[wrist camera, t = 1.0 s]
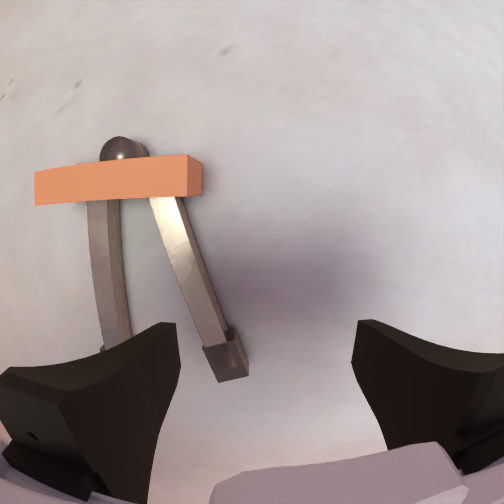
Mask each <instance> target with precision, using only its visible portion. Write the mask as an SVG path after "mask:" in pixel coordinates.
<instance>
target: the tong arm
mask: <svg viewBox="0 0 504 504" xmlns="http://www.w3.org/2000/svg"><path fill="white" fill-rule="evenodd" d="M149 200H150V203H151V206H152V209H153V212H154V215H155V218H156V221H157V224H158V227H159V230H160V233H161V236H162V239H163V242H164V245H165V248H166V250H167V253H168V256H169V259H170V261H171V264H172V267H173V270H174V272H175V275H176V278H177V280H178V283H179V285H180V288H181V291H182V293H183V296H184V298H185V301H186V303H187V306H188V308H189V311H190V313H191V315H192V318H193V320H194V323H195V325H196V327H197V330H198V332H199V334H200V337H201V339H202V341H203V347H202V349H203V351H204V353H205V355H206V357H207V360H208V362H209V364H210V366H211V368H212V370H213V373H214V375H215V377H216V379H217V381H218V383H219V382H224V381H229V380H233V379H237V378H242V377H246V376H249V362H248V360H247V357H246V355H245V352H244V350H243V347H242V344H241V342H240V339H239V337H238V334H237V331H236V329H231V330H228V328H227V325H226V322H225V320H224V317H223V315H222V312H221V309H220V307H219V304H218V301H217V299H216V296H215V293H214V291H213V288H212V285H211V282H210V280H209V277H208V274H207V271H206V269H205V266H204V263H203V260H202V257H201V254H200V252H199V249H198V246H197V243H196V240H195V237H194V234H193V231H192V228H191V225H190V222H189V219H188V216H187V213H186V210H185V207H184V204H183V201H182V198H181V197H149Z"/></svg>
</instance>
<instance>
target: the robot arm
mask: <svg viewBox="0 0 504 504" xmlns="http://www.w3.org/2000/svg"><path fill="white" fill-rule="evenodd" d="M351 364H352V367H353V371H354V374H355V377H356V379H357V382H358V384H359V386H360V388H361V390H362V392H363V394H364V396H365V398H366V400H367V401H368V403H369V405H370V407H371V409H372V411H373V413H374V415H375V417H376V419H377V421H378V423H379V425H380V428H381V430H382V433H383V436H384V439H385V442H386V445H387V449H388V451H384V452H380V453H376V454H371V455H367V456H362V457H357V458H351V459H346V460H339V461H333V462H326V463H318V464H309V465H299V466H286V467H272V468H266V469H260V470H253V471H246V472H242V473H240V474H238V475H235V476H233V477H231V478H229V479H227V480H225V481H222V482H220V483H218V484H216V485H215V487H214V489H213V492H212V494H211V496H210V501H209V504H504V353H500V354H496V353H478V352H470V351H463V350H457V349H453V348H449V347H445V346H441V345H437V344H434V343H431V342H428V341H425V340H423V339H420V338H417V337H415V336H412V335H410V334H408V333H405V332H403V331H401V330H398V329H396V328H394V327H391V326H389V325H387V324H384V323H382V322H379V321H376V320H373V319H369V320H358V324H357V331H356V337H355V343H354V349H353V355H352V361H351ZM180 368H181V363H180V355H179V348H178V340H177V331H176V323H168V322H160V323H157V324H155V325H153V326H151V327H150V328H148V329H146V330H144V331H143V332H141V333H139V334H137V335H135V336H134V337H132V338H130V339H128V340H126V341H124V342H122V343H120V344H118V345H116V346H114V347H112V348H110V349H108V350H105V351H103V352H100V353H98V354H95V355H92V356H89V357H86V358H82V359H78V360H74V361H70V362H66V363H61V364H55V365H47V366H37V367H9V368H8V369H7V370H5V371H4V372H3V373H2V374H1V375H0V420H1V422H2V424H3V425H4V427H5V429H6V430H7V432H8V434H9V435H10V437H11V438H12V439H13V440H12V441H11V442H10V443H9V442H8V441H7V440H6V439H0V504H147V498H148V490H149V483H150V476H151V470H152V464H153V459H154V454H155V449H156V445H157V440H158V436H159V432H160V429H161V426H162V423H163V421H164V418H165V415H166V413H167V410H168V408H169V405H170V403H171V400H172V397H173V395H174V392H175V389H176V387H177V383H178V378H179V373H180Z"/></svg>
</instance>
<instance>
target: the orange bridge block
mask: <svg viewBox="0 0 504 504" xmlns="http://www.w3.org/2000/svg"><path fill="white" fill-rule="evenodd" d="M197 195H202V163H201V162H199V161H197V160H196V159H194V158H192V157H191V156H189V155H169V156H154V157H141V158H129V159H119V160H110V161H101V162H93V163H86V164H79V165H72V166H65V167H59V168H53V169H47V170H42V171H37V172H35V206H37V205H46V204H57V203H68V202H80V201H94V200H109V199H127V198H149V197H182V196H197Z"/></svg>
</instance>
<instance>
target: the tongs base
mask: <svg viewBox="0 0 504 504" xmlns="http://www.w3.org/2000/svg"><path fill="white" fill-rule="evenodd" d="M141 157H149V153H148V150H147V149H146V147H145V146H144V145H142V144H140V143H138V142H135V141H133V140H130V139H128V138H125V137H121V136H118V137H114V138H112V139H110V140H108V141H107V142H106V143H105V145H104V146H103V148H102V150H101V153H100V162H101V161H110V160H119V159H129V158H141ZM87 217H88V234H89V247H90V258H91V267H92V276H93V283H94V291H95V297H96V304H97V310H98V315H99V321H100V326H101V331H102V336H103V341H104V345H103V346H102V347H101V348H100V352H103V351H105V350H108V349H110V348H112V347H114V346H116V345H118V344H120V343H122V342H124V341H126V340H128V339H130V338H132V331H131V325H130V318H129V312H128V304H127V297H126V288H125V279H124V269H123V258H122V244H121V226H120V199H109V200H94V201H87Z"/></svg>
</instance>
